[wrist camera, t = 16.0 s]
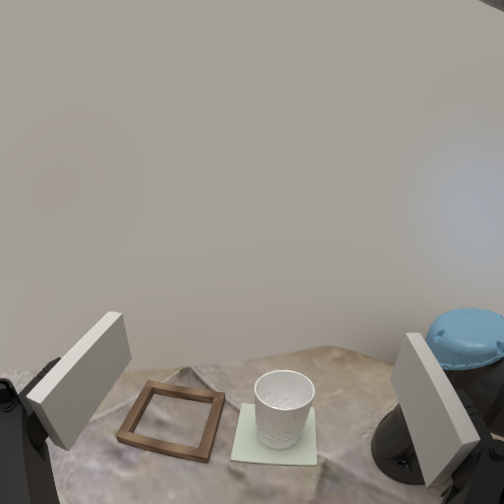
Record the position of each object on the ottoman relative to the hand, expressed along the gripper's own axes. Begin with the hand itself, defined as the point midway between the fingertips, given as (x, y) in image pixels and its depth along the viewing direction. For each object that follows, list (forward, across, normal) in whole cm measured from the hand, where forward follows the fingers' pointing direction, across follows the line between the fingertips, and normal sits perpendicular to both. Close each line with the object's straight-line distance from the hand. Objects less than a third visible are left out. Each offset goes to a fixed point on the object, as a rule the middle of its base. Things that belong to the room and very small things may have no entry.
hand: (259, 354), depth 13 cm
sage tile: (+19, +2, -30) cm, 35 cm away
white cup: (+19, +2, -30) cm, 35 cm away
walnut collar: (+19, -14, -30) cm, 38 cm away
